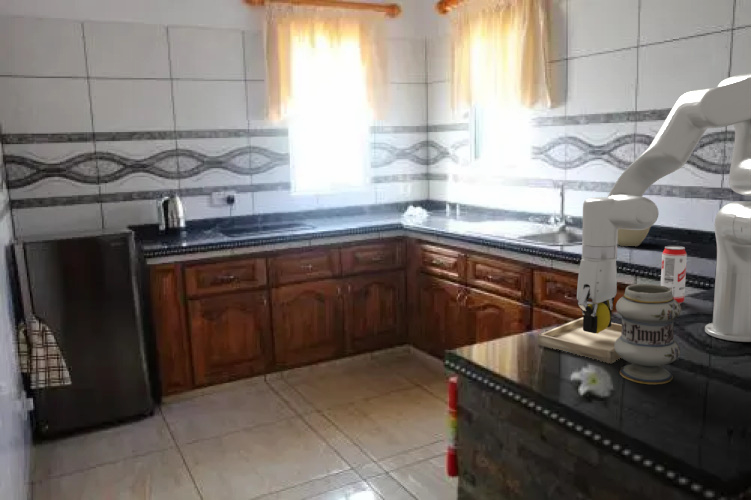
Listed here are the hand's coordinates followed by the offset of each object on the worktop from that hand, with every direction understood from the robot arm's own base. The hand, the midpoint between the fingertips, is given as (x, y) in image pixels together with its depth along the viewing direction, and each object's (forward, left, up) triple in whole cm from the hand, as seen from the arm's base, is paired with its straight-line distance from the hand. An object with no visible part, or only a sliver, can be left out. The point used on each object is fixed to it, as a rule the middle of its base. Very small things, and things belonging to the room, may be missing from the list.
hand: (597, 328), depth 144 cm
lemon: (0, 0, -1) cm, 1 cm away
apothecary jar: (+11, +17, -4) cm, 21 cm away
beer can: (-47, -3, -4) cm, 47 cm away
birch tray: (0, 0, -4) cm, 4 cm away
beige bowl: (-128, -57, -4) cm, 140 cm away
